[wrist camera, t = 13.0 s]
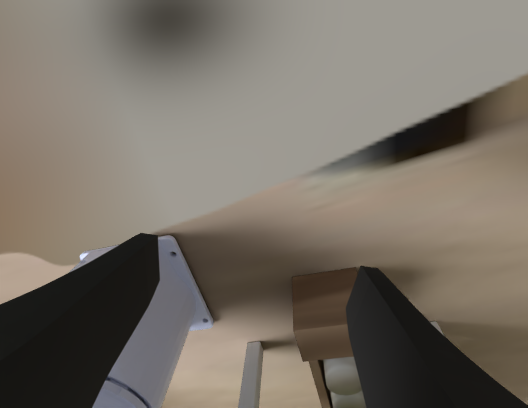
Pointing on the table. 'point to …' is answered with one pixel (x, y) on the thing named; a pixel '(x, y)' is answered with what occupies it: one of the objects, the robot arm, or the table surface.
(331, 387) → the wooden slotted rack
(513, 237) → the table surface
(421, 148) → the table surface
